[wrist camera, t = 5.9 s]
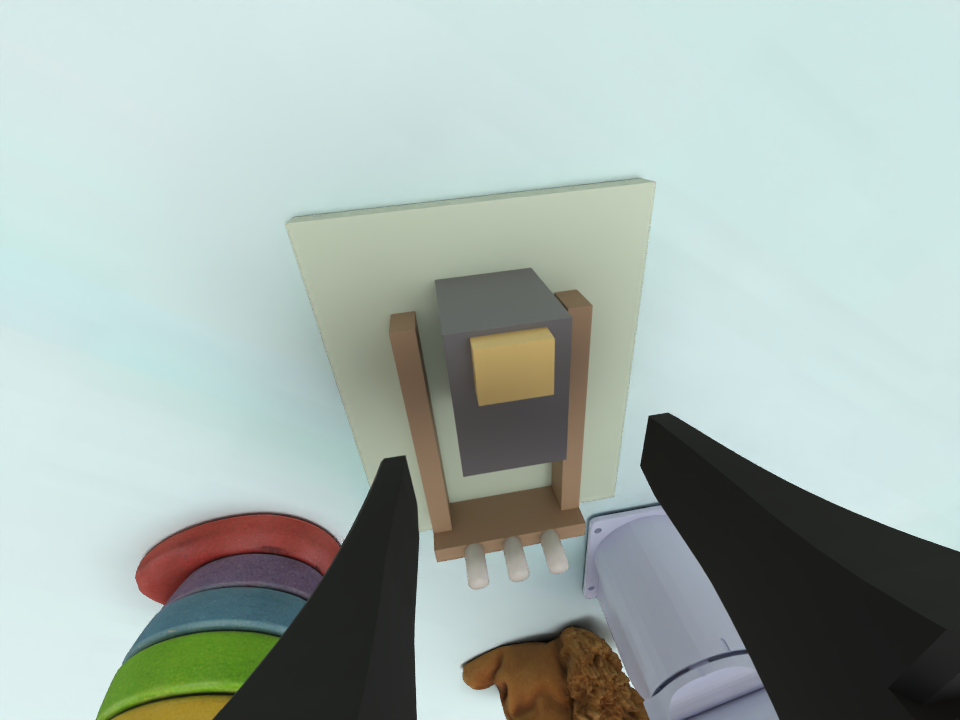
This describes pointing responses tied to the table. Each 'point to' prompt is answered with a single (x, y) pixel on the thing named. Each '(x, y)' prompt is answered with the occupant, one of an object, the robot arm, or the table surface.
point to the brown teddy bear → (558, 679)
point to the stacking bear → (215, 613)
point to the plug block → (506, 369)
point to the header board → (422, 363)
